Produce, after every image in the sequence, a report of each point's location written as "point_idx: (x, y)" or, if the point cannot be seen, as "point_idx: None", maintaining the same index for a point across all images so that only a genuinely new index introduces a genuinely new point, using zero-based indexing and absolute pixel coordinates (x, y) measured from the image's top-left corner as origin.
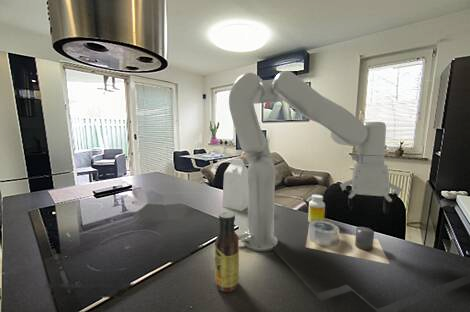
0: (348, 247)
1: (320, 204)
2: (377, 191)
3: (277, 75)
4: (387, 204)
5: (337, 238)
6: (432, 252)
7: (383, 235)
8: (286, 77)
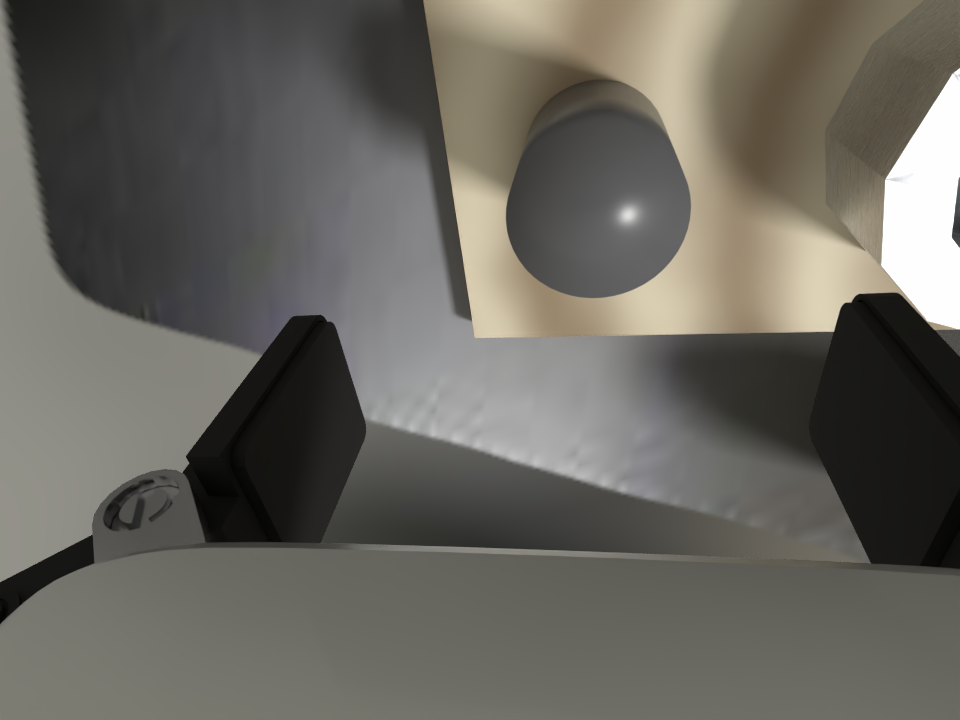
0: (744, 69)
1: None
2: (271, 702)
3: None
4: (230, 417)
5: (889, 83)
6: (192, 322)
7: (436, 431)
8: None
